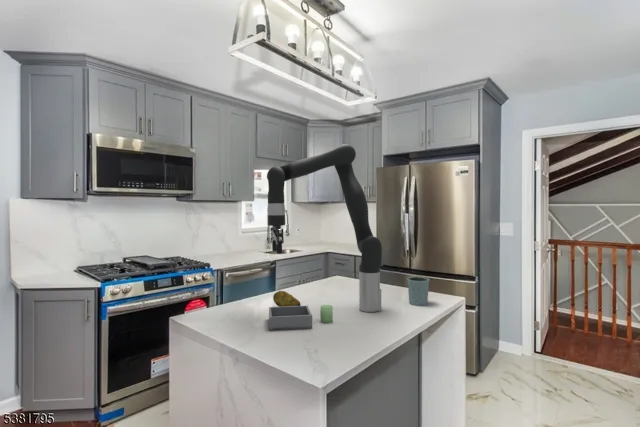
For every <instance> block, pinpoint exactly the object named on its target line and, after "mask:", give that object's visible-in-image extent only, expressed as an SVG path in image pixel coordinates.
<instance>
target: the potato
mask: <svg viewBox="0 0 640 427" xmlns="http://www.w3.org/2000/svg"><path fill="white" fill-rule="evenodd" d="M272 298H273V299H272V300H273V302H274V303H275V304H276V307H285V306H302V305H301V302H300V301H299V299H297V298H296V297H294V296H293V295H292V294H290V293H288V292H287V291H286V290H285V291H284V290H278V291H276V292H275V293H274V294H273V297H272Z"/></svg>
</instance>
